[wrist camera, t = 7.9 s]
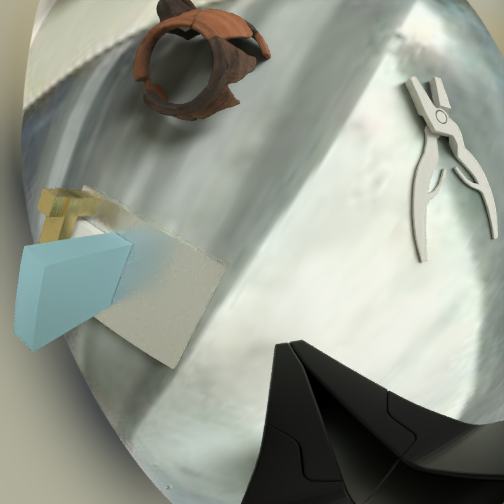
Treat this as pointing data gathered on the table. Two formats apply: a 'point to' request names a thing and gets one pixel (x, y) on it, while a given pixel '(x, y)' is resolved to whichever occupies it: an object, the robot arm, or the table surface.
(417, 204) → the pliers
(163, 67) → the table surface
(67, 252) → the clip bar
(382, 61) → the table surface
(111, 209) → the block holder base
